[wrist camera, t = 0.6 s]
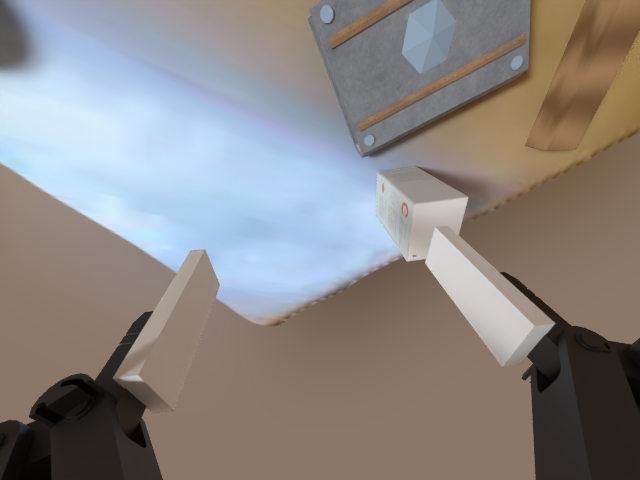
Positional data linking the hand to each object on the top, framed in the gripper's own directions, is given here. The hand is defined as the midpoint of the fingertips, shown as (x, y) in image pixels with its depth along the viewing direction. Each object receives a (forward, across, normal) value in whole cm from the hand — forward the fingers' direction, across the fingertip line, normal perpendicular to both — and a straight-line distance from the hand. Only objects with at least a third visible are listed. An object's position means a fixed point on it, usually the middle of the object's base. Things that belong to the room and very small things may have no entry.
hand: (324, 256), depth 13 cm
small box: (+24, +14, -7) cm, 29 cm away
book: (+25, +14, +11) cm, 31 cm away
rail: (+24, +36, +11) cm, 45 cm away
